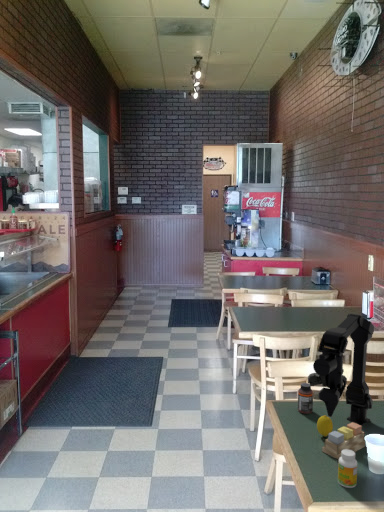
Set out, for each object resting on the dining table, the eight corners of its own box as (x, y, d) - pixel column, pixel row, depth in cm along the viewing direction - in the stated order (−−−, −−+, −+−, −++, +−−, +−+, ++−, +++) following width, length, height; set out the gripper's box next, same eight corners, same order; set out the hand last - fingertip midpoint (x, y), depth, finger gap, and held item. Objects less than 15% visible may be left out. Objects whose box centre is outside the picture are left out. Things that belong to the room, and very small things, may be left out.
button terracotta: (352, 432, 167) (352, 422, 166) (361, 436, 164) (361, 425, 163) (346, 435, 164) (346, 424, 164) (355, 439, 162) (355, 428, 161)
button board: (349, 437, 169) (349, 425, 168) (366, 445, 163) (367, 433, 163) (322, 451, 159) (322, 438, 159) (339, 460, 154) (340, 447, 153)
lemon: (329, 432, 172) (330, 412, 172) (334, 440, 167) (335, 418, 166) (314, 433, 172) (315, 412, 171) (319, 440, 167) (319, 419, 166)
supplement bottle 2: (334, 483, 141) (335, 452, 140) (343, 475, 145) (344, 446, 144) (351, 490, 137) (352, 459, 136) (359, 483, 141) (361, 452, 140)
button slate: (334, 441, 160) (334, 430, 160) (343, 445, 157) (344, 434, 157) (328, 444, 158) (328, 433, 158) (337, 449, 155) (337, 437, 155)
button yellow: (343, 437, 163) (343, 426, 163) (352, 441, 161) (353, 430, 160) (337, 440, 161) (337, 429, 161) (346, 444, 158) (346, 433, 158)
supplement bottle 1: (300, 406, 195) (301, 380, 194) (314, 410, 192) (315, 383, 191) (295, 412, 190) (296, 385, 189) (310, 415, 187) (310, 388, 186)
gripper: (316, 356, 172) (315, 396, 174) (303, 372, 155) (302, 417, 157) (347, 360, 167) (346, 402, 169) (338, 378, 150) (336, 424, 152)
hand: (332, 410), depth 162 cm, fingers open, 9 cm apart
